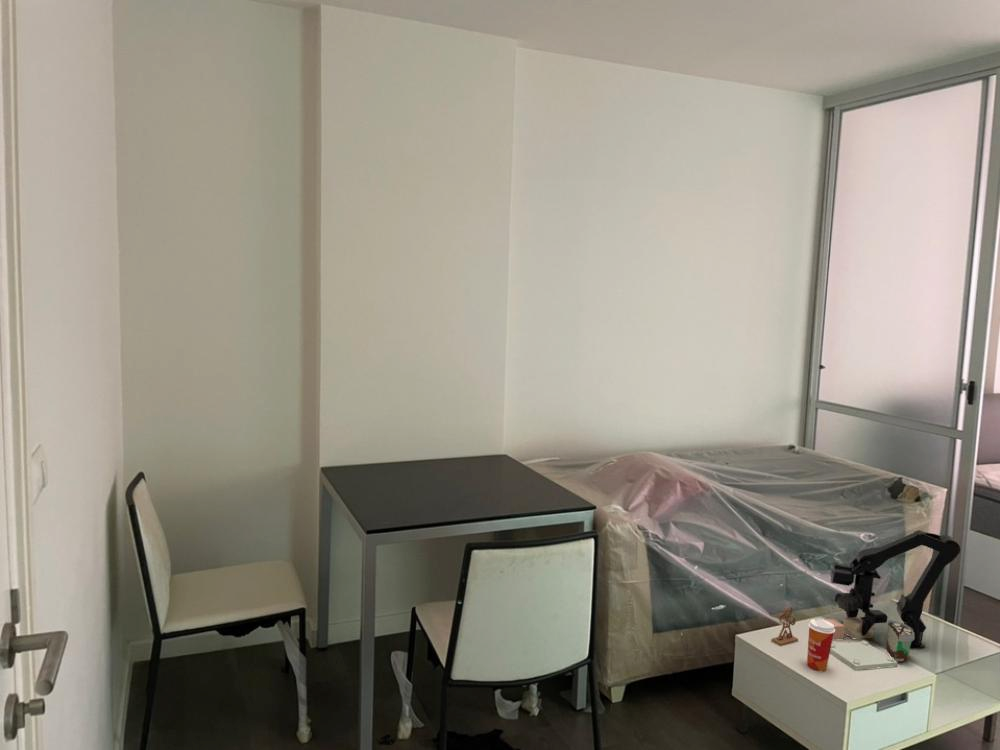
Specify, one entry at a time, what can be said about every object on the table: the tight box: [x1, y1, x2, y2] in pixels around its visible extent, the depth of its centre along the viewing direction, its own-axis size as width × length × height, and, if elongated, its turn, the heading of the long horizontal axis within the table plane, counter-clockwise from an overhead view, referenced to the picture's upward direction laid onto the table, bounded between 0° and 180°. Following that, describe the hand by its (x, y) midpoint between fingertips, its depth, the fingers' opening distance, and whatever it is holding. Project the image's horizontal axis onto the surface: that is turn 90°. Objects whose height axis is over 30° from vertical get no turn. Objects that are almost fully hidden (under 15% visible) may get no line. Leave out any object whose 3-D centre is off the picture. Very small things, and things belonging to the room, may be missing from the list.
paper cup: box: [806, 619, 835, 672], centre depth 237 cm, size 8×8×14 cm
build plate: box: [830, 639, 899, 671], centre depth 246 cm, size 16×14×2 cm
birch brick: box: [842, 616, 875, 639], centre depth 264 cm, size 8×6×5 cm
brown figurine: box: [770, 605, 799, 647], centre depth 254 cm, size 9×4×12 cm, turn 121°
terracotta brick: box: [822, 618, 845, 641], centre depth 260 cm, size 8×6×5 cm
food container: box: [885, 619, 915, 664], centre depth 248 cm, size 12×6×10 cm, turn 168°
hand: (857, 631), depth 264 cm, fingers closed on birch brick, 5 cm apart
